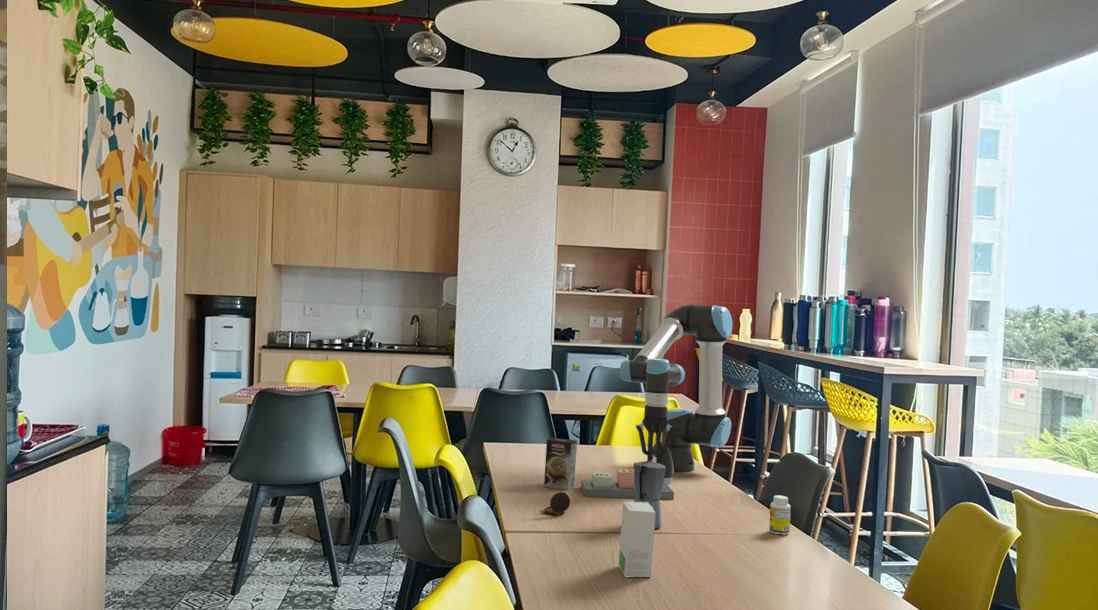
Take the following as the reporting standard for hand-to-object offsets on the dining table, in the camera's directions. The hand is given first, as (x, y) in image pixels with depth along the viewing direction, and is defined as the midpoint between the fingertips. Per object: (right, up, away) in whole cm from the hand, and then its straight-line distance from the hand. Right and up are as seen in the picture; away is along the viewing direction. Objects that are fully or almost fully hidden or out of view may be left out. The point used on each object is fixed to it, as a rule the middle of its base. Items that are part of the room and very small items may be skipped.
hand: (652, 475), depth 268 cm
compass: (-34, -5, -32) cm, 47 cm away
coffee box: (-31, -5, +4) cm, 32 cm away
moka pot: (-7, -6, -40) cm, 42 cm away
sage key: (-17, -5, -1) cm, 18 cm away
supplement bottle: (+31, -8, -40) cm, 51 cm away
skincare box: (-14, -6, -81) cm, 82 cm away
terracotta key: (-9, -3, -1) cm, 9 cm away
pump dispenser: (+4, -7, +15) cm, 17 cm away
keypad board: (-9, -6, -1) cm, 11 cm away
